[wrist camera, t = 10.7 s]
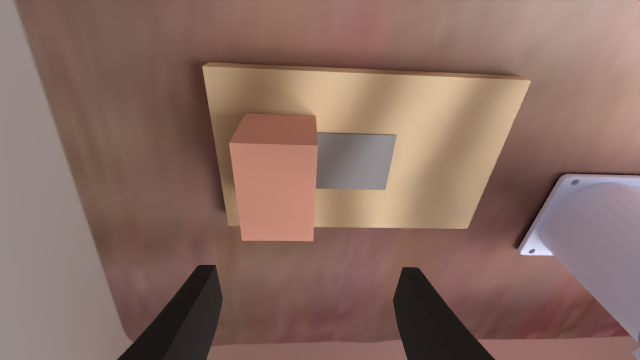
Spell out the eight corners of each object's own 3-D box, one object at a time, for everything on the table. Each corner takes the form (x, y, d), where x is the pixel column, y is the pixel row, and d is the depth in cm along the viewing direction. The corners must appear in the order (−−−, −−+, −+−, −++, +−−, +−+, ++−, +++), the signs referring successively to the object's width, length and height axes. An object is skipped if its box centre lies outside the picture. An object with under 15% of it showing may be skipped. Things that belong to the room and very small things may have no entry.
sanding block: (315, 115, 16) (317, 145, 13) (312, 199, 20) (313, 240, 16) (245, 113, 16) (229, 142, 13) (253, 198, 19) (242, 240, 16)
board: (518, 75, 17) (532, 80, 16) (460, 218, 23) (467, 229, 22) (208, 62, 16) (201, 66, 15) (232, 215, 22) (228, 226, 21)
